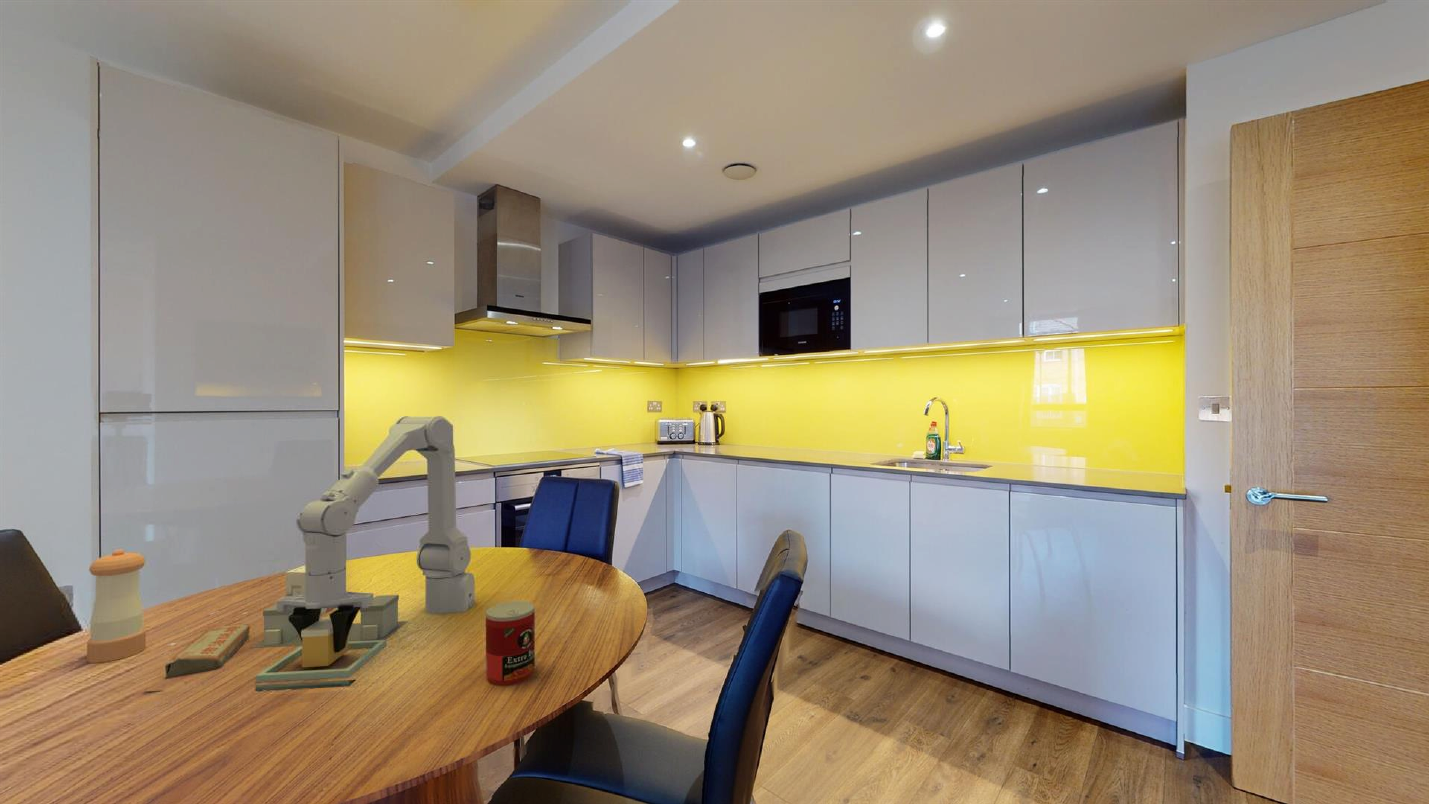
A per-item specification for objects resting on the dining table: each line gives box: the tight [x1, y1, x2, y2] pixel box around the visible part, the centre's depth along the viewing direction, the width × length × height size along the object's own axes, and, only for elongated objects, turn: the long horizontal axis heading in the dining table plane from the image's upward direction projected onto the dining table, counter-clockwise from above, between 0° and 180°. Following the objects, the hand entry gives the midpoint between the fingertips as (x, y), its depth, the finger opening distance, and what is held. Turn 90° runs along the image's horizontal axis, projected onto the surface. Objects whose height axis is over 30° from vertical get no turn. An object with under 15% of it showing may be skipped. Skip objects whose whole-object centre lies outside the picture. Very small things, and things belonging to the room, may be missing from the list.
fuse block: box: [250, 620, 408, 649], centre depth 105 cm, size 23×10×4 cm, turn 96°
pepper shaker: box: [86, 549, 147, 664], centre depth 101 cm, size 7×7×19 cm
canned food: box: [485, 600, 536, 686], centre depth 91 cm, size 8×8×11 cm
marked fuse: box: [301, 616, 349, 668], centre depth 93 cm, size 4×6×6 cm
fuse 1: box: [262, 603, 299, 642], centre depth 104 cm, size 4×6×6 cm
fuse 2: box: [359, 594, 400, 638], centre depth 106 cm, size 4×6×6 cm
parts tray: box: [254, 639, 387, 692], centre depth 93 cm, size 14×12×2 cm
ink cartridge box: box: [285, 565, 335, 616], centre depth 116 cm, size 9×5×15 cm, turn 179°
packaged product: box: [144, 622, 251, 695], centre depth 96 cm, size 18×5×10 cm
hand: (325, 650), depth 93 cm, fingers closed on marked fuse, 4 cm apart
